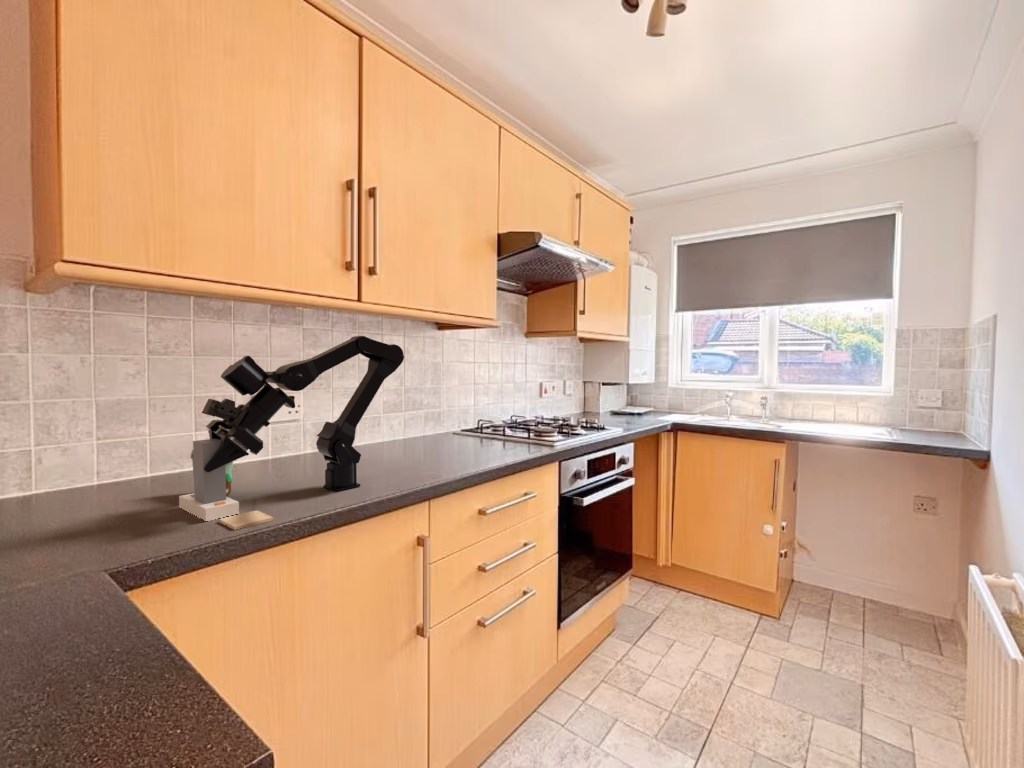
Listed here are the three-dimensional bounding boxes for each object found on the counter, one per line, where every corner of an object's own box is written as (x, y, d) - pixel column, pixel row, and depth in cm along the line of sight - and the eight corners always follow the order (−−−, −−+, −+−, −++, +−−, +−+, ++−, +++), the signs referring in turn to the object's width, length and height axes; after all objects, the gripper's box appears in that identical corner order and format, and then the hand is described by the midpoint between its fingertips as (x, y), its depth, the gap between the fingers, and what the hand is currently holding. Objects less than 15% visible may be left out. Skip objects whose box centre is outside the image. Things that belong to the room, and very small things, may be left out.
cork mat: (256, 513, 98) (256, 510, 98) (273, 520, 94) (273, 517, 94) (218, 522, 93) (218, 518, 93) (234, 530, 89) (234, 526, 89)
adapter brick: (216, 495, 102) (214, 438, 101) (226, 499, 99) (224, 441, 98) (194, 499, 99) (193, 441, 98) (204, 504, 96) (202, 443, 95)
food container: (248, 493, 113) (247, 450, 112) (220, 500, 107) (220, 455, 107) (218, 486, 119) (217, 445, 118) (191, 492, 114) (190, 449, 113)
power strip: (202, 497, 109) (201, 485, 109) (239, 514, 98) (238, 500, 98) (170, 503, 105) (170, 490, 105) (206, 521, 93) (205, 507, 93)
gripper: (216, 383, 107) (156, 438, 100) (244, 386, 94) (178, 450, 87) (255, 415, 113) (201, 470, 106) (287, 423, 100) (228, 486, 93)
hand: (201, 468), depth 98 cm, fingers closed on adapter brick, 5 cm apart
